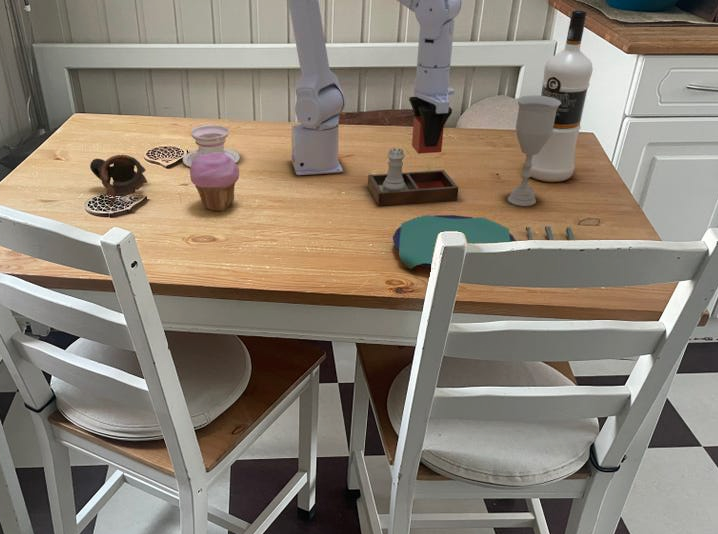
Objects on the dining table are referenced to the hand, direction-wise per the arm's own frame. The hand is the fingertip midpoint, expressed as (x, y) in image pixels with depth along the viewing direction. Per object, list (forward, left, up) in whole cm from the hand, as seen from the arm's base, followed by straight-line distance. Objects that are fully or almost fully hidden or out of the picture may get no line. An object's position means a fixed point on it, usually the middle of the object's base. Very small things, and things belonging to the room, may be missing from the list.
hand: (426, 141), depth 134 cm
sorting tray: (-3, -1, -9) cm, 10 cm away
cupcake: (-39, -1, -10) cm, 41 cm away
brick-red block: (0, 0, -1) cm, 1 cm away
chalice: (+17, -8, -10) cm, 21 cm away
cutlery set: (+3, -27, -10) cm, 29 cm away
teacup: (-39, +23, -10) cm, 47 cm away
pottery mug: (-57, +9, -10) cm, 59 cm away
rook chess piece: (-6, -1, -9) cm, 11 cm away
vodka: (+27, +3, -10) cm, 28 cm away
